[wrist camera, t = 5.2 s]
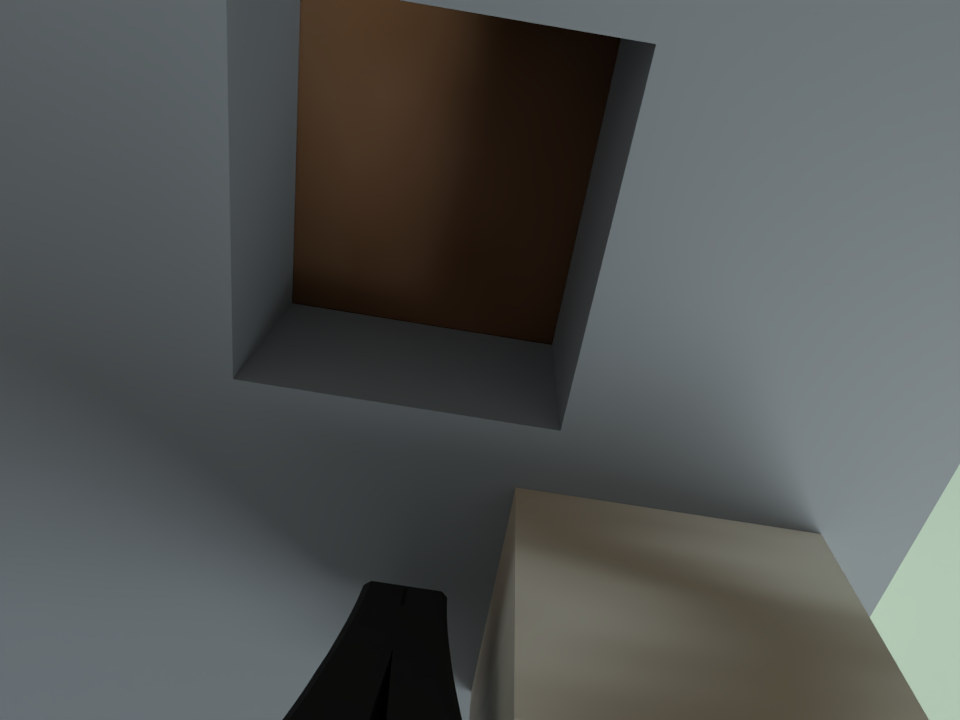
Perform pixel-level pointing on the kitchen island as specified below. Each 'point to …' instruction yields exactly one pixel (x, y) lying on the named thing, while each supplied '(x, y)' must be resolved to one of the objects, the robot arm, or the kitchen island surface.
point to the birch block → (675, 622)
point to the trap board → (458, 344)
